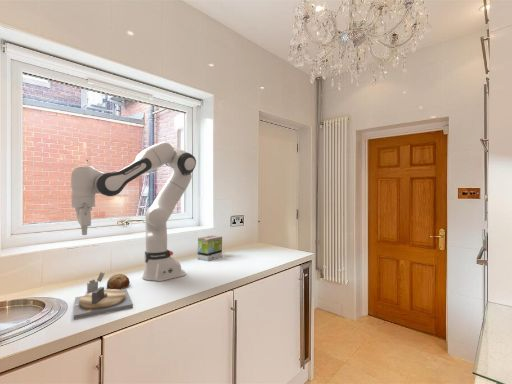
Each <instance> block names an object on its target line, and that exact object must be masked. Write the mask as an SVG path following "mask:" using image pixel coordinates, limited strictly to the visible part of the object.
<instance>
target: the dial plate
mask: <svg viewBox="0 0 512 384" xmlns="http://www.w3.org/2000/svg"><path fill="white" fill-rule="evenodd" d="M122 290H123V291H125V292H126V298H125V299H124V300H123V301H122V302H120V303H118V304H116V305H113V306H109V307H105V308H98V309H86V308H82V307H80V306H79V300H80V298H81V297H83V296H84V295H82V296H75V298H74V308H73V309H74V310H73V320H78V319H83V318H88V317H94V316H98V315H105V314H108V313H113V312H119V311H123V310H128V309H133V306H134V304H133V302H132V299H131V296H130V294H129V292H128V289H127V288H123V289H122Z"/></svg>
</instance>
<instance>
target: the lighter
mask: <svg viewBox="0 0 512 384" xmlns="http://www.w3.org/2000/svg"><path fill="white" fill-rule="evenodd" d="M104 276H105V272H102V271H100V273H99V275H98V277H97V279H90V280H88V282H87V283H86V289H87V291H86V292H87V294H89V293H92V292H94V291H95V290H97V289H98V288H99V283H101V282H102V280H103V278H104Z"/></svg>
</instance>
